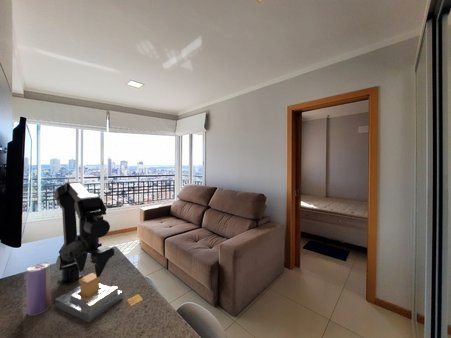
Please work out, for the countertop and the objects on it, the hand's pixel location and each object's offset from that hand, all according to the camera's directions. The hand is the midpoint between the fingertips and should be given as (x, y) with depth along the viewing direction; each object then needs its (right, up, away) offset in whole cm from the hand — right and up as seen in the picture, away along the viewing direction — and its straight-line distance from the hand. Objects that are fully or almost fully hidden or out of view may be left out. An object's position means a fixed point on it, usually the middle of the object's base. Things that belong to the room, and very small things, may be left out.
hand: (89, 273), depth 69 cm
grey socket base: (0, -10, 0) cm, 10 cm away
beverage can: (-15, -11, -3) cm, 19 cm away
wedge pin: (0, -10, 0) cm, 10 cm away
